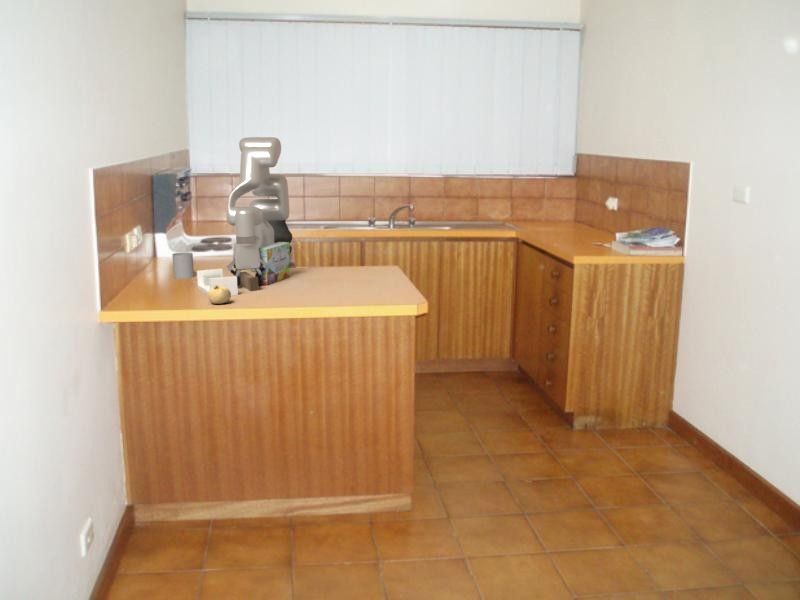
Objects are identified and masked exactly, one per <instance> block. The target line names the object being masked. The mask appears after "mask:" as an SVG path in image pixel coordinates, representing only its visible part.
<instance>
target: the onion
mask: <svg viewBox="0 0 800 600" xmlns="http://www.w3.org/2000/svg"><path fill="white" fill-rule="evenodd" d="M231 297H232V295H231V292H230V291H229V289H228V288H226V287H224V286H219V285H215V286H213V288H212V289H211V290H210V291H209V294H208V295H207V298H208V300H209V302H210V303H211V304H215V305H216V304H219V305H220V304H228V303H229V302H230V300H231Z"/></svg>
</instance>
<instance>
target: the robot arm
mask: <svg viewBox="0 0 800 600" xmlns="http://www.w3.org/2000/svg"><path fill="white" fill-rule="evenodd" d="M238 146H239V150H240V152H241V153H240V167H239V182H238V184H236V186H235V187H233V189H232V190H231V191H230V194H229V195H228V198H227V203H226V204H227V205H226V221H227V223H228V224H229V225H231V226H232V227H233V226H235V244H233V251H232V261H231V262H230V263H228V265H226V269H227V270H228V271H229V272H230V273H231V274H232V275H233V276H237V287H241V286H240V277H239V273H240V272H242V271H244V270H245V271H247V270H250V271H252V272H255V275H254V276H255V277H257V278H258V286H260V285H259V284H260V282H261V276H260V274H261V273H262V272H263V271H264V269H265V267H266V266H267V263H266V262H264V261H263V260H262V259H260V254H259V247H263V246H266V245H270V244H273V243H274V230H273V228H272V226H271V225H270V224H269V223H268V221H279V220H288V219H289V217H290V197H289V185H288V180H287V177H286V176H285V175H284V174H271V173H270V168H275V167H276V166H277V164H278V162H279V159H280V156H281V154H282V143H281V141H280V139H279V138H277V137H271V136H270V137H266V136H265V137H261V136H257V137H256V136H250V137H248V136H247V137H243V138H241V139H240V140H239V142H238ZM249 192H251V193H252V194H253V196H255V197H276V198H258V199H257V198H255V199H253V200H251V202H249V206H236V203H237V201H238V200H239V199H240V198H241V197H243V196H244V195H246V194H248V193H249ZM261 263H262V267H261V268H260V269H259V267H260V265H261ZM233 268H234V269H235V270H234V269H233Z"/></svg>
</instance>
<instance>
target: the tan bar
mask: <svg viewBox="0 0 800 600" xmlns="http://www.w3.org/2000/svg"><path fill="white" fill-rule="evenodd" d="M239 277H240V286H239V287H243V288H244V289H246V290H248V291H249V292H254V291H257V290H258V291H259V285H258V278H257V277H255V275H252V274H250V273H249V272H247V271H240V273H239Z"/></svg>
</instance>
